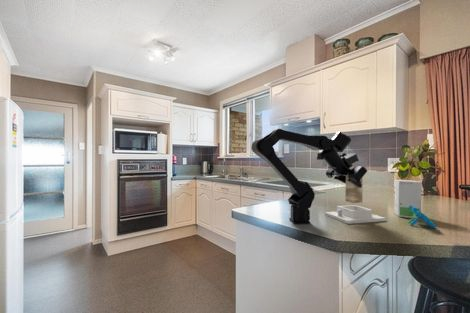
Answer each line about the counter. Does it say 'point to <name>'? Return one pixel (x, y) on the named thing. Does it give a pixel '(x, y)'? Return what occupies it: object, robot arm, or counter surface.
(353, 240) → the counter surface
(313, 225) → the counter surface
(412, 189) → the skincare box
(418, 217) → the blue cog crank toy
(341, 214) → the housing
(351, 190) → the block
